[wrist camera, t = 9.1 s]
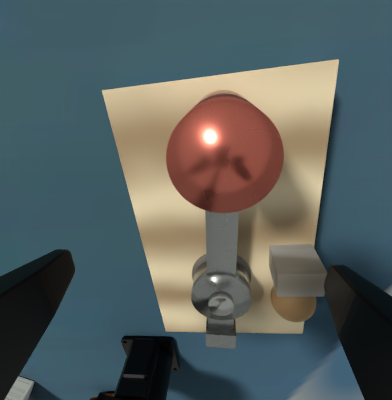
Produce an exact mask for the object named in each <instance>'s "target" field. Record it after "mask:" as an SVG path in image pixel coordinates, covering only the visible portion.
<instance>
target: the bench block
mask: <svg viewBox="0 0 392 400" xmlns="http://www.w3.org/2000/svg"><path fill="white" fill-rule="evenodd" d="M338 63H339V59H337V60H330V61H322V62H314V63H307V64H299V65H292V66H284V67H276V68H269V69H261V70H254V71H246V72H239V73H231V74H223V75H216V76H208V77H201V78H193V79H185V80H178V81H170V82H163V83H155V84H148V85H140V86H132V87H125V88H117V89H110V90H102V93H103V96H104V100H105V104H106V108H107V111H108V115H109V119H110V123H111V127H112V130H113V134H114V138H115V142H116V145H117V149H118V153H119V157H120V160H121V164H122V168H123V172H124V175H125V179H126V183H127V187H128V190H129V194H130V198H131V202H132V205H133V209H134V213H135V217H136V221H137V224H138V228H139V232H140V236H141V239H142V243H143V247H144V251H145V254H146V258H147V262H148V266H149V269H150V273H151V277H152V281H153V284H154V288H155V292H156V296H157V299H158V303H159V307H160V311H161V315H162V318H163V322H164V326H165V330H166V331H170V332H206V320H207V317H206V316H204V315H202V314H200V313H199V312H198V311H197V310H196V309H195V308H194V306H193V304H192V301H191V293H192V286H193V279H194V273H195V271H196V269H197V268H198V266H199V265H201V264H202V263H203V262H205V261H207V258H206V222H205V210H203V209H200V208H198V207H196V206H194V205H192V204H191V203H189V202H188V201H187V200H185V199H184V198H183V197H182V196H181V195H180V194H179V192H178V191H177V190H176V188H175V187H174V185H173V184H172V181H171V179H170V177H169V174H168V171H167V165H166V151H167V146H168V141H169V139H170V136H171V134H172V132H173V130H174V128H175V127H176V126H177V124H178V123H179V121H180V120H181V119H182V118H183V117H184V116H185V115H186V114H187V113H188V112H189V111H190V110H191V109H192V108H193V107H194V106H195V105H196V104H197V103H198V102H199V101H200V100H201V99H202V98H204V97H205V96H206V95H208V94H209V93H212V92H214V91H218V90H230V91H234V92H236V93H238V94H240V95H241V96H243V97H244V98H245V99H247V100H248V101H249V102H251V103H252V104H253V105H254V106H256V107H257V108H258V109H259V110H261V111H262V112H263V113H264V114H265V115H266V116H268V117H269V118H270V120H271V121H272V122H273V123H274V125H275V126H276V128H277V130H278V132H279V134H280V137H281V139H282V143H283V150H284V161H283V167H282V171H281V174H280V177H279V179H278V181H277V183H276V184H275V186H274V187H273V189H272V190H271V191H270V192H269V194H268V195H267V196H266V197H265V198H263V199H262V200H261V201H260V202H258V203H257V204H255V205H253V206H251V207H249V208H247V209H244V210H241V211H239V217H238V239H237V261H236V262H237V263H239V264H241V265H242V266H243V267H244V268H245V269H246V271H247V273H248V275H249V281H250V289H251V296H252V304H251V307H250V309H249V310H248V311H247V312H246V313H245V314H244V315H242V316H240V317H238V318H236V319H235V324H236V333H289V334H303V327H304V321H303V322H291V321H288V320H286V319H284V318H282V317H281V316H280V315H279V314H278V313H277V312H276V311H275V309H274V308H273V306H272V303H271V297H270V294H271V289H272V287H273V285H274V288H275V292H276V296H277V297H324V294H325V291H324V281H325V278H326V275H327V271H326V269H325V267H324V265H323V264H322V262H321V260H320V258H319V256H318V254H317V253H316V251H315V249H314V244H315V237H316V229H317V222H318V214H319V207H320V199H321V191H322V184H323V176H324V169H325V161H326V154H327V146H328V139H329V131H330V124H331V116H332V109H333V101H334V94H335V86H336V79H337V71H338Z"/></svg>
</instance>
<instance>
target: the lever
mask: <svg viewBox="0 0 392 400" xmlns="http://www.w3.org/2000/svg"><path fill="white" fill-rule="evenodd" d="M283 161H284V150H283V143H282V139H281V137H280V134H279V132H278V130H277V128H276V126H275V125H274V123H273V122H272V121H271V120H270V118H269V117H268V116H266V115H265V114H264V113H263V112H262V111H261V110H259V109H258V108H257V107H256V106H254V105H253V104H252V103H251V102H249V101H248V100H247V99H245V98H244V97H243V96H241V95H240V94H238V93H236V92H234V91H230V90H218V91H214V92H212V93H209V94H208V95H206V96H205V97H204V98H202V99H201V100H200V101H199V102H198V103H197V104H196V105H195V106H194V107H193V108H192V109H191V110H190V111H189V112H188V113H187V114H186V115H185V116H184V117H183V118H182V119H181V120H180V121H179V123H178V124H177V126H176V127H175V128H174V130H173V132H172V134H171V136H170V139H169V141H168V146H167V151H166V165H167V171H168V174H169V177H170V179H171V181H172V184H173V185H174V187H175V188H176V190H177V191H178V192H179V194H180V195H181V196H182V197H183V198H184V199H185V200H187V201H188V202H189V203H191V204H192V205H194V206H196V207H198V208H200V209H203V210H205V222H206V258H207V261H205V262H203V263H202V264H201V265H199V266H198V268H197V269H196V271H195V273H194V279H193V286H192V293H191V301H192V304H193V306H194V308H195V309H196V310H197V311H198V312H199V313H200V314H202V315H204V316H206V317H207V320H206V346H207V347H221V348H235V349H236V324H235V319H236V318H238V317H240V316H242V315H244V314H245V313H246V312H247V311H248V310H249V309H250V307H251V304H252V296H251V289H250V281H249V275H248V273H247V271H246V269H245V268H244V267H243V266H242V265H241V264H239V263H237V262H236V261H237V239H238V217H239V211H241V210H244V209H247V208H249V207H251V206H253V205H255V204H257V203H258V202H260V201H261V200H262V199H263V198H265V197H266V196H267V195H268V194H269V192H270V191H271V190H272V189H273V187H274V186H275V184H276V183H277V181H278V179H279V177H280V174H281V171H282V167H283Z"/></svg>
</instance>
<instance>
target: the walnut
mask: <svg viewBox="0 0 392 400" xmlns="http://www.w3.org/2000/svg"><path fill="white" fill-rule="evenodd" d="M270 297H271V303H272V306H273V308H274V309H275V311H276V312H277V313H278V314H279V315H280V316H281V317H282V318H284V319H286V320H288V321H291V322H303V321H306V320H307V319H309V318H310V317H311V316H312V315H313V314H314V312H315V309H316V304H317V301H316V297H277V296H276V292H275V288H274V285H273V287H272V289H271V294H270Z"/></svg>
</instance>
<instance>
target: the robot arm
mask: <svg viewBox="0 0 392 400" xmlns="http://www.w3.org/2000/svg"><path fill="white" fill-rule="evenodd" d="M74 273H75V266H74V262H73V259H72V255H71V252H70V251H69V250H63V249H57V250H54V251H52V252H50V253H48V254H46V255H44V256H42V257H40V258H38V259H36V260H34V261H32V262H30V263H27V264H25V265H23V266H21V267H19V268H17V269H15V270H13V271H11V272H9V273H7V274H5V275H3V276H0V400H5V398H6V396H7V395H8V393H9V391H10V389H11V388H12V386H13V384H14V383H15V381H16V379H17V378H18V376H19V374H20V373H21V371H22V369H23V368H24V366H25V364H26V363H27V361H28V359H29V357H30V356H31V354H32V352H33V351H34V349H35V347H36V346H37V344H38V342H39V341H40V339H41V337H42V336H43V334H44V332H45V331H46V329H47V327H48V325H49V324H50V322H51V320H52V319H53V317H54V315H55V313H56V311H57V309H58V307H59V305H60V303H61V301H62V299H63V297H64V295H65V293H66V290H67V288H68V286H69V284H70V282H71V280H72V278H73V276H74ZM324 291H325V294H326V297H327V301H328V304H329V307H330V311H331V314H332V317H333V321H334V324H335V327H336V330H337V333H338V336H339V339H340V342H341V344H342V347H343V349H344V351H345V354H346V356H347V359H348V361H349V363H350V366H351V368H352V370H353V373H354V375H355V378H356V380H357V382H358V385H359V387H360V390H361V392H362V394H363V397H364V399H365V400H392V296H390V295H389V294H387V293H386V292H384V291H383V290H381V289H380V288H378V287H377V286H375V285H374V284H372V283H371V282H369V281H368V280H366V279H365V278H363V277H362V276H360V275H359V274H357V273H356V272H354V271H353V270H351V269H349V268H348V267H346V266H344V265H330V267H329V269H328V272H327V275H326V278H325V281H324ZM121 343H122V345H123V348H124V350H125V353H126V355H127V358H126V361H125V364H124V367H123V370H122V373H121V376H120V379H119V382H118V385H117V387H116V390H115V393H114V396H109V395H105V393H101V392H100V393H99V395H98V397H97V398H94V399H92V400H166V396H167V391H168V385H169V379H170V373H171V371H179V362H178V358H177V354H176V350H175V346H174V342H173V339H172V338H170V337H130V336H124V337H122V340H121Z"/></svg>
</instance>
